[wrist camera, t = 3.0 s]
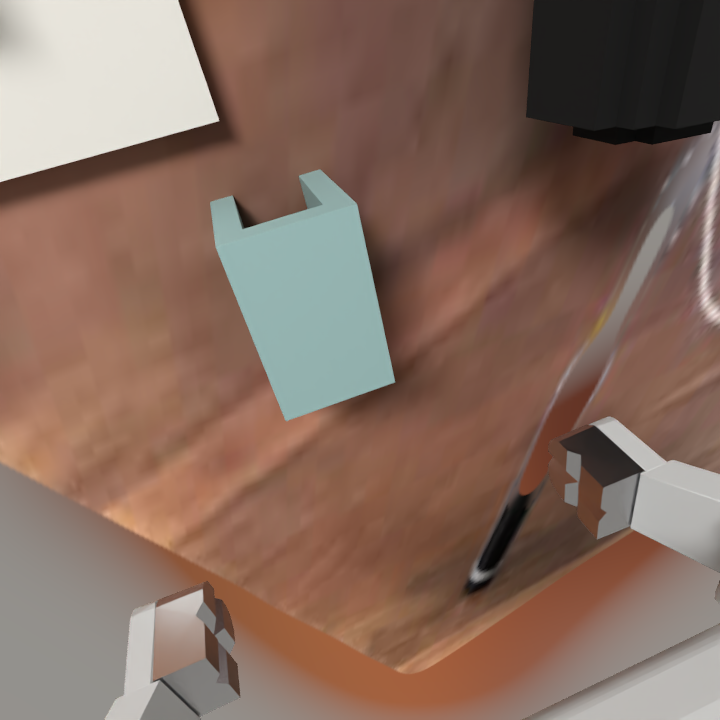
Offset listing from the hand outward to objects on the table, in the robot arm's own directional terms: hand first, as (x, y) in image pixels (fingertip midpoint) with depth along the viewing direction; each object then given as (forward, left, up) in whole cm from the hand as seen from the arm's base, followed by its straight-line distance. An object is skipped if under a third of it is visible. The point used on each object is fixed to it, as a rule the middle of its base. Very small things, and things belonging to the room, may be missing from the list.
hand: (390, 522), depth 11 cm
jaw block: (0, 0, -16) cm, 16 cm away
